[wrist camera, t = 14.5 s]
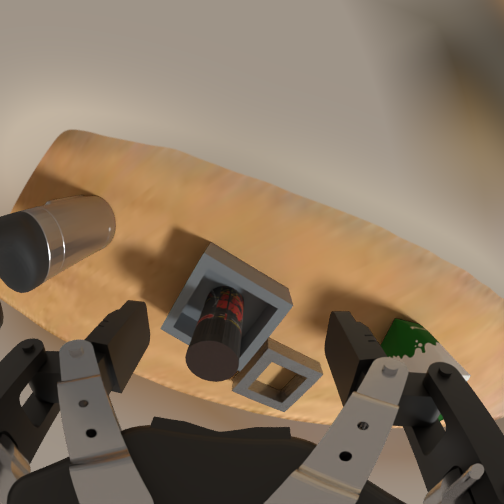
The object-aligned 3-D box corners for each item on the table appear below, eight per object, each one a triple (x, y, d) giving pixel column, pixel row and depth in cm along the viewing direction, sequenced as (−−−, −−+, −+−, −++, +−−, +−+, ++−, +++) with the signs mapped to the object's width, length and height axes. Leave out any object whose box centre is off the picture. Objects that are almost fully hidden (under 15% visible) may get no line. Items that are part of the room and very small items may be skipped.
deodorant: (245, 318, 44) (241, 380, 29) (209, 320, 44) (191, 381, 29) (241, 284, 42) (235, 339, 28) (203, 287, 42) (180, 341, 28)
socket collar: (233, 378, 48) (231, 390, 45) (267, 336, 46) (268, 348, 42) (282, 400, 50) (284, 412, 47) (319, 362, 47) (323, 374, 44)
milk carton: (372, 352, 47) (414, 426, 28) (393, 312, 44) (451, 378, 25) (404, 357, 47) (448, 423, 28) (425, 320, 45) (482, 379, 26)
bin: (170, 310, 45) (160, 328, 39) (211, 241, 41) (204, 252, 36) (241, 350, 46) (240, 371, 41) (288, 288, 43) (293, 305, 37)
